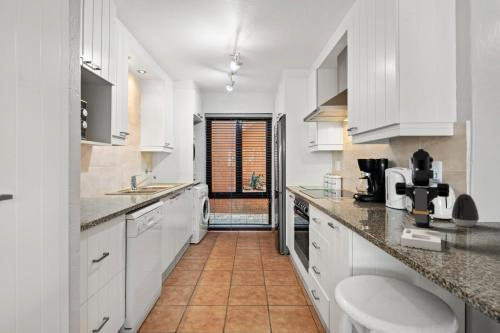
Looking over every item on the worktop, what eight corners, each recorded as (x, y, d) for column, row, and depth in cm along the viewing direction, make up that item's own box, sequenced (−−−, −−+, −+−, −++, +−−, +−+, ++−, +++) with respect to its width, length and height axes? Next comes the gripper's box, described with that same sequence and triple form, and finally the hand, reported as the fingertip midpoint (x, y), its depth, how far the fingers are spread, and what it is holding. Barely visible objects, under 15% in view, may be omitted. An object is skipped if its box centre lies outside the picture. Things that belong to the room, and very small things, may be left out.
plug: (413, 219, 112) (413, 188, 112) (428, 220, 109) (428, 188, 109) (413, 222, 108) (413, 189, 108) (428, 223, 105) (428, 190, 105)
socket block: (404, 235, 114) (404, 226, 114) (439, 239, 107) (439, 230, 107) (401, 245, 100) (401, 236, 100) (441, 251, 93) (440, 240, 93)
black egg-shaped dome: (455, 227, 126) (455, 194, 126) (448, 222, 135) (448, 192, 135) (483, 228, 122) (482, 195, 122) (473, 224, 132) (473, 192, 132)
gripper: (395, 163, 117) (392, 191, 108) (448, 163, 106) (451, 194, 97) (397, 180, 123) (395, 208, 114) (447, 181, 113) (449, 212, 104)
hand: (420, 205), depth 107 cm, fingers closed on plug, 4 cm apart
